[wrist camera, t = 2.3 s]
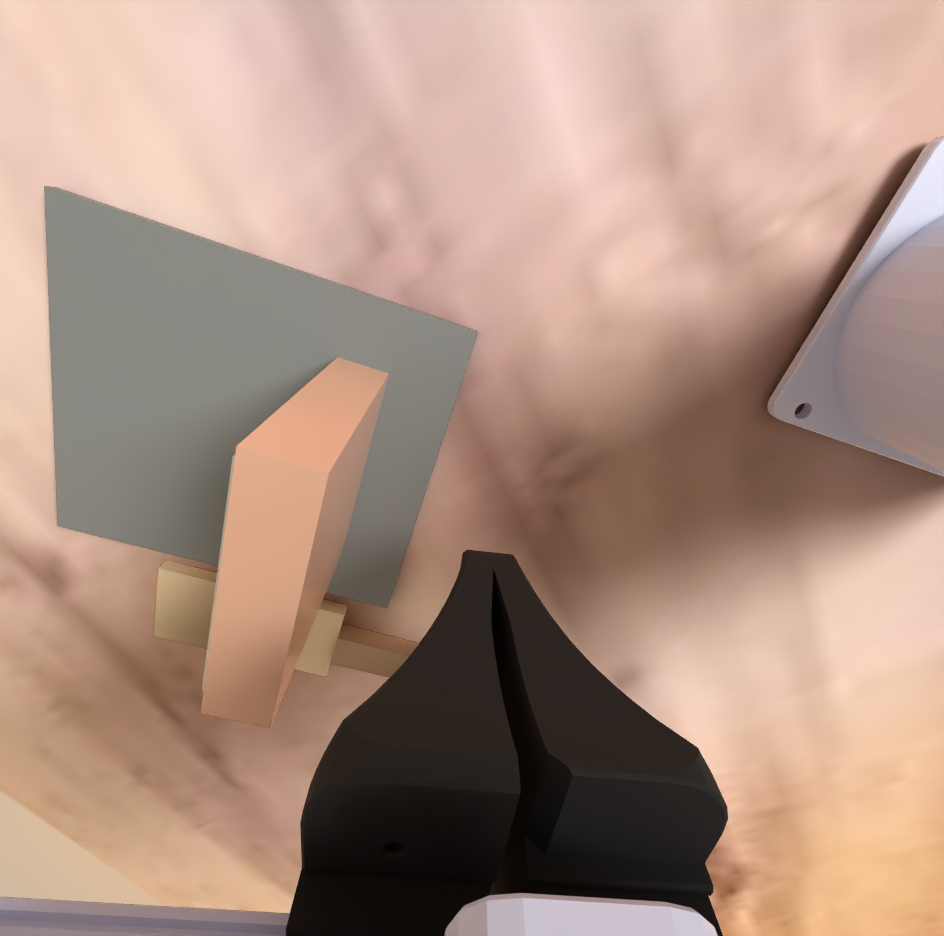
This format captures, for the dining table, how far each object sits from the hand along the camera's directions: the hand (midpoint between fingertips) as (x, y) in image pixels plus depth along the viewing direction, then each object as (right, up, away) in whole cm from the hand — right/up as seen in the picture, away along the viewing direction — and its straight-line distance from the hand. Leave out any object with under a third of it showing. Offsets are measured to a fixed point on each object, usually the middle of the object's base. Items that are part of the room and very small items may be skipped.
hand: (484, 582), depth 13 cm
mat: (-8, +4, +3) cm, 9 cm away
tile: (-5, +3, +3) cm, 7 cm away
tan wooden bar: (-5, -4, +7) cm, 10 cm away
